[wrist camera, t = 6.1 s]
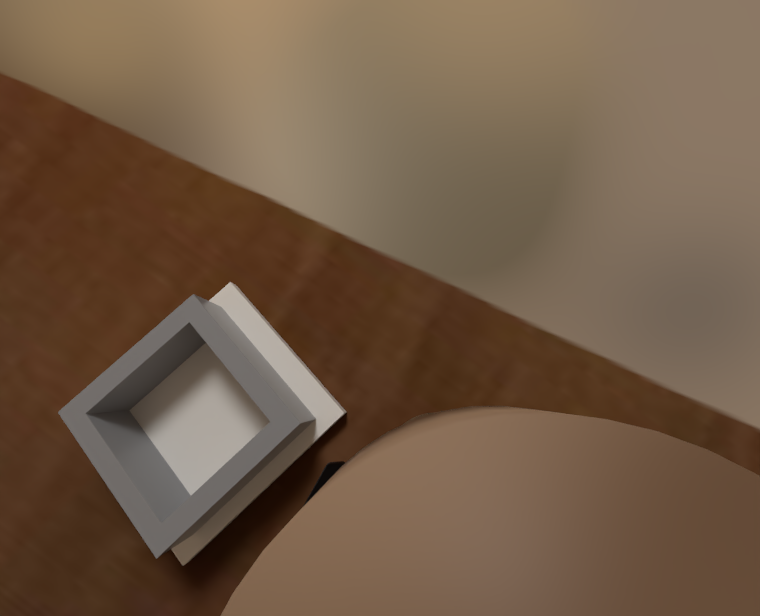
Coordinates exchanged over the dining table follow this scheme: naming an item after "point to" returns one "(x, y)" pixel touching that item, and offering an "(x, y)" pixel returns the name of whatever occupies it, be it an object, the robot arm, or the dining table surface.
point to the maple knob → (518, 525)
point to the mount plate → (199, 420)
